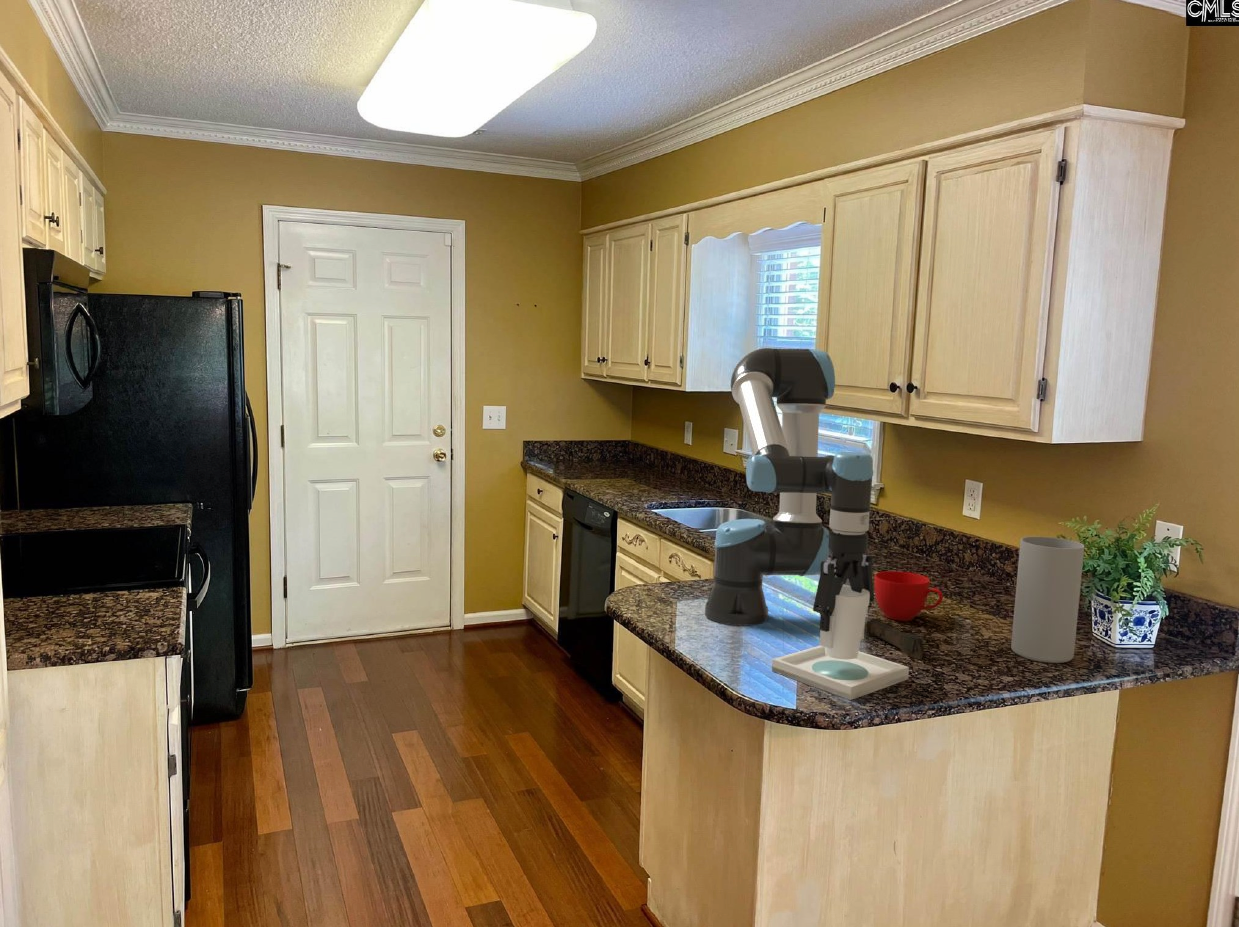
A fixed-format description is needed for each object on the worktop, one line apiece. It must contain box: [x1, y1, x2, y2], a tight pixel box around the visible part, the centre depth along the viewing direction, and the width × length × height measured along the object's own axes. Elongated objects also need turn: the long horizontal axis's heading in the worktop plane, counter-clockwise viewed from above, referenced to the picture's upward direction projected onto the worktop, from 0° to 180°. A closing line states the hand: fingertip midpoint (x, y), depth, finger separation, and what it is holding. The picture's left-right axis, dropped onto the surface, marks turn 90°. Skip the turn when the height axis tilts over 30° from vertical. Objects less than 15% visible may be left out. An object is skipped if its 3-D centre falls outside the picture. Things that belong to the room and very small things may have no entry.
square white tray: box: [771, 644, 910, 701], centre depth 187 cm, size 19×19×2 cm
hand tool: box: [866, 618, 925, 660], centre depth 207 cm, size 19×4×5 cm, turn 15°
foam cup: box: [825, 584, 870, 659], centre depth 186 cm, size 10×9×13 cm
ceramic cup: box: [873, 570, 944, 622], centre depth 228 cm, size 13×17×10 cm
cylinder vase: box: [1010, 536, 1085, 664], centre depth 203 cm, size 12×12×25 cm
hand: (841, 642), depth 186 cm, fingers closed on foam cup, 9 cm apart
